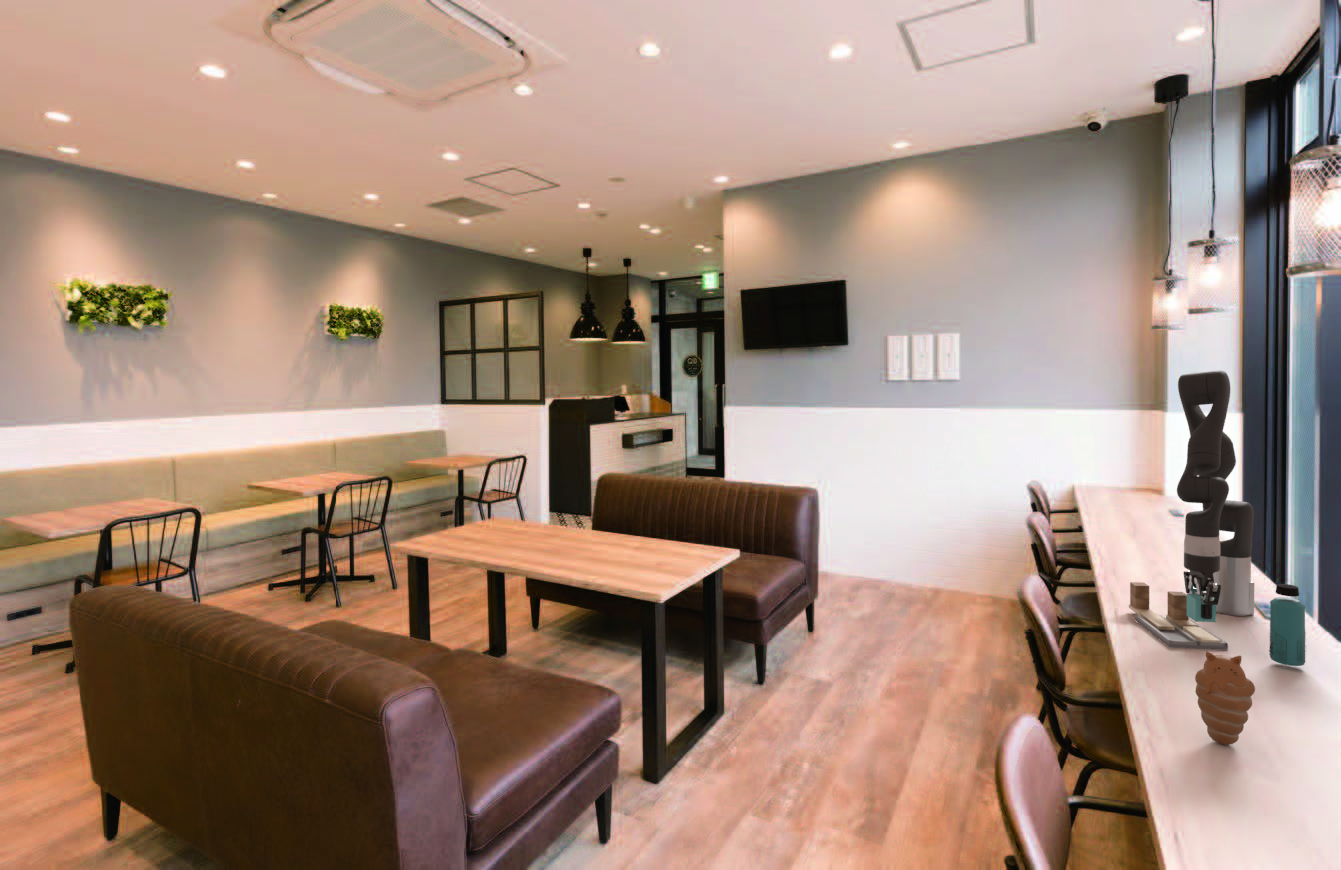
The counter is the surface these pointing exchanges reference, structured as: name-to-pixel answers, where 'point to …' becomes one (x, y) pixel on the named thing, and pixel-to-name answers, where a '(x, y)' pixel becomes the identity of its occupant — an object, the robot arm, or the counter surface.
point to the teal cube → (1198, 609)
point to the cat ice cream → (1223, 697)
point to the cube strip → (1153, 619)
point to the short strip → (1178, 609)
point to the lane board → (1185, 636)
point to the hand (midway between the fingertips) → (1201, 615)
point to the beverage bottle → (1287, 627)
